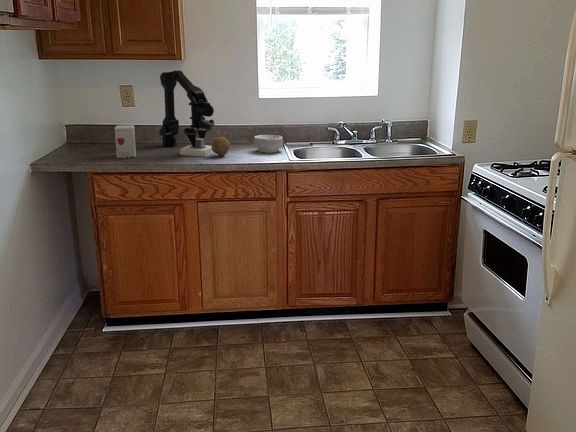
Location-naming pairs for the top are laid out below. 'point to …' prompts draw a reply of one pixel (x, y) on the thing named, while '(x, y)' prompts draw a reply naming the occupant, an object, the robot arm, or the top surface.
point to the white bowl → (268, 143)
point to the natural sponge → (220, 146)
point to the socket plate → (196, 151)
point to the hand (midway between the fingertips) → (198, 145)
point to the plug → (199, 143)
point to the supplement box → (125, 141)
